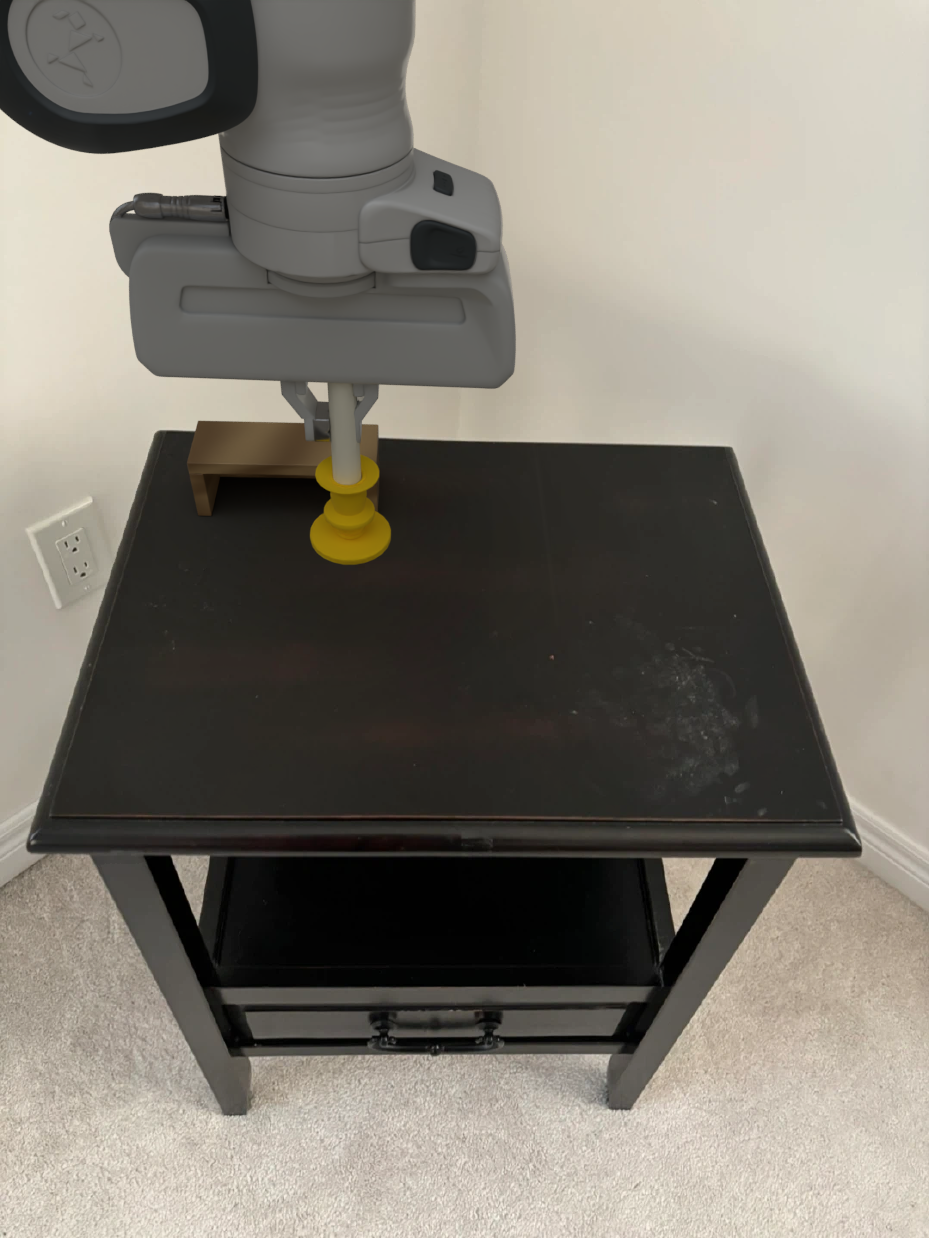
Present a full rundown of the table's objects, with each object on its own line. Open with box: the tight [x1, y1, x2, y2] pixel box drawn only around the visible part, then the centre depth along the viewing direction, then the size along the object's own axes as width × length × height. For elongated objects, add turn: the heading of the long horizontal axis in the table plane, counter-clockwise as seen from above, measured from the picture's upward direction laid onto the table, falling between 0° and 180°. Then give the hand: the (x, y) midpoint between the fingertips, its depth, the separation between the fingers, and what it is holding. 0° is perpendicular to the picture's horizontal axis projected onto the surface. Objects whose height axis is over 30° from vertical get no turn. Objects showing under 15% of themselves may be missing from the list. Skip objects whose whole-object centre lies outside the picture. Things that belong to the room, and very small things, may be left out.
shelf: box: [186, 420, 381, 517], centre depth 83 cm, size 16×6×6 cm, turn 92°
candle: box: [309, 383, 392, 566], centre depth 55 cm, size 5×5×16 cm
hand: (334, 436), depth 55 cm, fingers closed on candle
